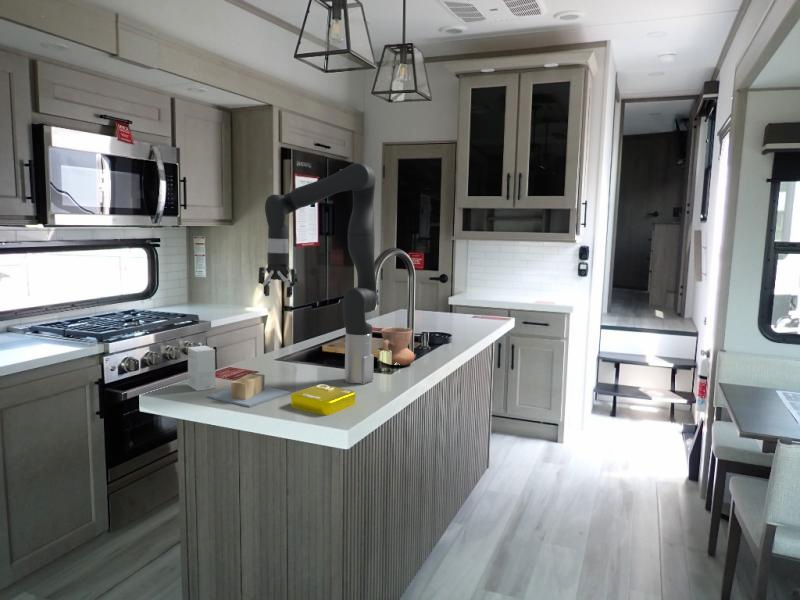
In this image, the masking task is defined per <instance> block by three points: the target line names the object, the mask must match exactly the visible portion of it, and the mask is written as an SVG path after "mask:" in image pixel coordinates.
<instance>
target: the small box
mask: <svg viewBox="0 0 800 600" xmlns="http://www.w3.org/2000/svg"><path fill="white" fill-rule="evenodd" d="M187 386H189V387H190V388H191V389H193V390H195V391H197V392H199V391H205V390H212V389H216V349H215V348H212V347H210V346H207V345H198V346H189V347H187Z"/></svg>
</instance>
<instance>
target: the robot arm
mask: <svg viewBox="0 0 800 600" xmlns="http://www.w3.org/2000/svg"><path fill="white" fill-rule="evenodd" d="M375 188H376V174H375V171H374V169H373V168H372V167H370V166H369V165H367V164H364V163H361V162H354V163H351V164H349V165H348V166H345V168H343V169H340V170H339V171H337V172H335V173H333V174H331V175H329V176H327V177H324V178H320V179H319V180H316V181H312V182H310V183H307V184H305V185H304V184H303V185H300V186H298V187H295V188H294V189H292V190H291V191H290V192H288V193H284V194H271V195H269V196H268V197H267V198H266V200H265V204H264V211H265V218H266V222H267V227H268V229H267V232H268V233H267V244H266V245H267V248H266V250H267V251H266V252H267V254H266V255H267V258H266V259H267V262H266V263H267V264H266V265H267V267H265V266H260V267H258V284H261V285H262V286H263V294H264V296H265V297H269V296H270V283H271V282H272V281H275V280H278V281H282V282H284V284H285V286H287V287H286V298H291V297H292V296H293V287H294V286H297V285H298V269H297V268H289V265H290V264H289V263H290V262H289V261H290V259H289V258H290V257H289V256H290V255H289V253H290V244H289V243H290V242H289V225H288V223H287V222H286V221H285V215H288V214H291V213H293V212H295V211H297V210H299V209H302V208H305V207H308V206H311V205H314V204H317V203H319V202H321V201H323V200H325V199H327V198H329V197H331V196H332V195H335V194H338V193H342V192H347V191H352V203H353V204H352V212H351V215H350V219H349V222H348V226H347V248H348V253H349V256H350V258H351V260H352V263H353V264H354V267H355V271H356V274H357V287H351V288H349V289H346V291H345V292H344V295H343V299H342V300H343V302H342V313H343V314H342V315H343V325H344V328H345V341H344V342H345V345H344V347H345V351H344V354H345V355H344V381H345V383H348V382H349V383H348V384H353V383H361V384H360V385H365V383H366V384H368V383H371V382H373V381H374V366H375V365H374V363H375V362H374V359H375V358H374V357H375V355H374V354H373V353H372V348H373V347H372V346H373V345H372V343H373V326H372V324H370V323H368V322H367V321H366V313H367V314H368V313H370V312H373V311H374V310H375V309H376V307H377V304H378V291H377V289H378V288H377V281H376V268H375V246H376V245H375V236H376V235H375V216H374V215H375V212H374V197H375V190H376V189H375ZM266 273H267V274H268V275H267V276H266ZM289 274H290V276H289ZM290 277H291V278H290ZM372 380H373V381H372ZM370 381H371V382H370ZM367 382H368V383H367Z"/></svg>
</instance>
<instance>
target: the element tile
mask: <svg viewBox="0 0 800 600" xmlns="http://www.w3.org/2000/svg"><path fill="white" fill-rule="evenodd" d="M355 405H356V391H354V390H351V389H350V390H349V389H346V388H340V387H337V386H332V385H328V384H323V383H322V384H321V383H319V384H316V385H314V386H313V385H312V386H310V387H307V388H304V389H301V390H297V391H295V392H292V393H291V394H290V407H291V408H293V409H297V410H299V411H305V412H307V413H311V414H312V413H313V414H317V415H320V416H330V415H334V414H337V413H338V412H339V413H340V412H341V411H344V410H346V409H348V408H351V406H352V407H354V406H355Z"/></svg>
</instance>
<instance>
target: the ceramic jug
mask: <svg viewBox="0 0 800 600" xmlns="http://www.w3.org/2000/svg"><path fill="white" fill-rule="evenodd" d="M380 331H381V336H382V339H383V342H382V344H381V345H382V346H381V347H382V351H383V350H385V351H386V350H387V351H388V350H391V351H392V364H393V365H394V364H395V363H396V362H397V363H399V364H400V366H399V367H404V366H408V365H411V364H412V363H413V362H414V360H415V357H416V356H415V353H414V352H413V351H412V349H409V348H408V346H409V344H410V342H411V339H412V335H413V329H412V328H410V327H404V326H402V327H401V326H391V327H384V328H382V329H381V330H380ZM378 357H379V355H378Z"/></svg>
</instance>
